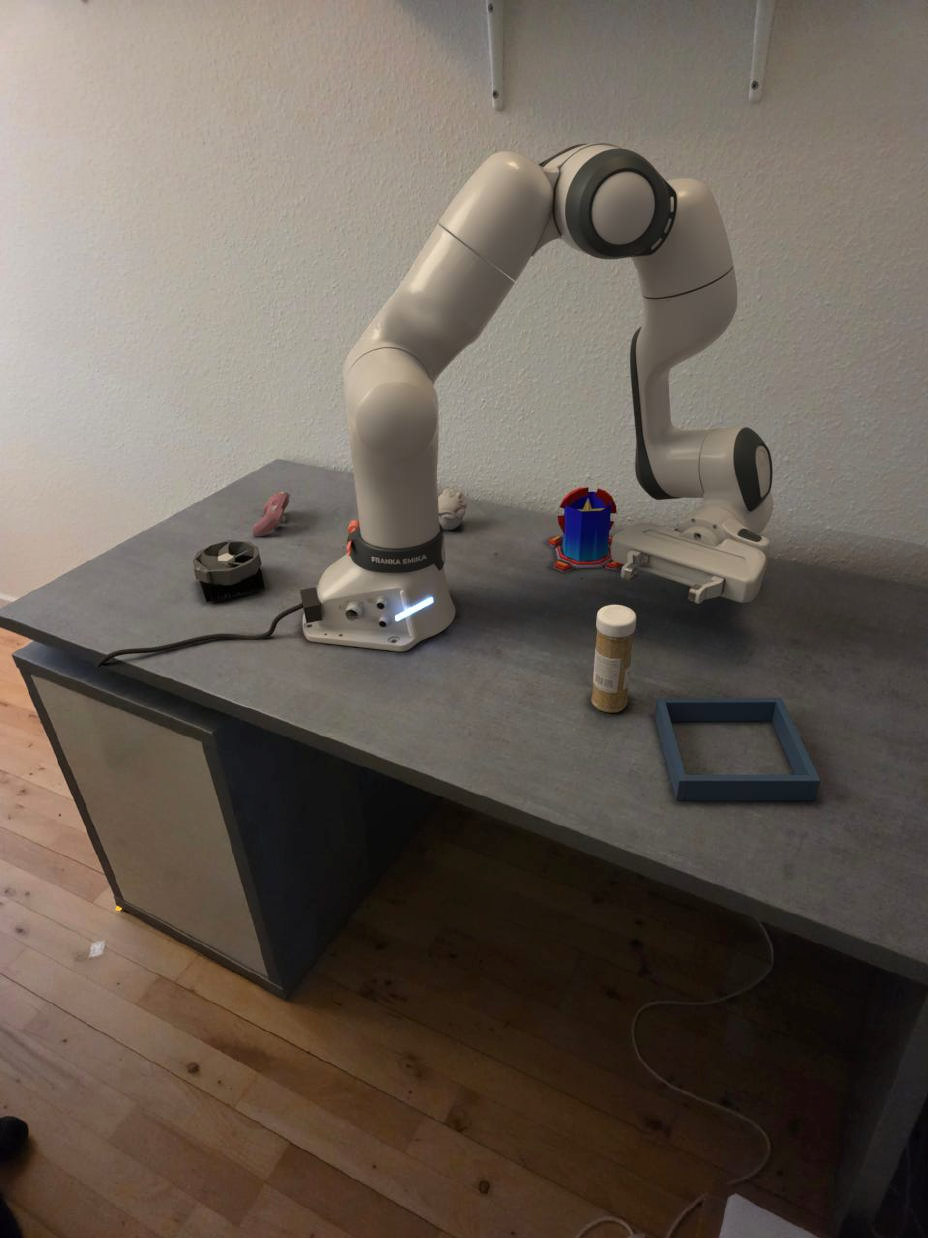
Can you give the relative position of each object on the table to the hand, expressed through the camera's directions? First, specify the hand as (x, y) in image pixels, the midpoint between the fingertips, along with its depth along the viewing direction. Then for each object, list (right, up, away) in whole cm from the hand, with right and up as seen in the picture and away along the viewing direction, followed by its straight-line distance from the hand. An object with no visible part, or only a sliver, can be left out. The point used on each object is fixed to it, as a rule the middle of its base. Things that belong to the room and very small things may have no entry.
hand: (658, 585), depth 100 cm
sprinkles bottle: (-7, -15, -1) cm, 16 cm away
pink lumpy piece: (-59, +13, +44) cm, 75 cm away
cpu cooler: (-62, +1, +26) cm, 67 cm away
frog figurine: (-27, +12, +41) cm, 50 cm away
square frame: (+6, -20, -9) cm, 23 cm away
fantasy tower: (-5, +7, +31) cm, 32 cm away
